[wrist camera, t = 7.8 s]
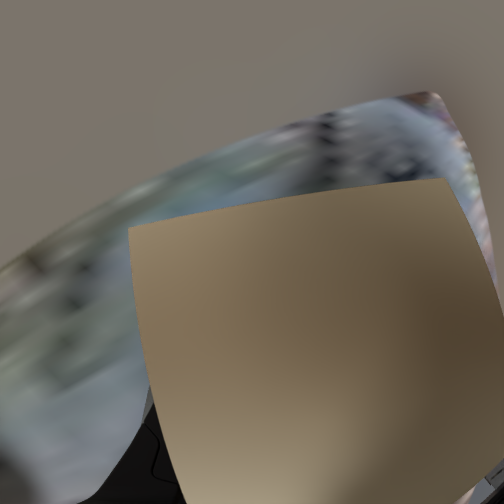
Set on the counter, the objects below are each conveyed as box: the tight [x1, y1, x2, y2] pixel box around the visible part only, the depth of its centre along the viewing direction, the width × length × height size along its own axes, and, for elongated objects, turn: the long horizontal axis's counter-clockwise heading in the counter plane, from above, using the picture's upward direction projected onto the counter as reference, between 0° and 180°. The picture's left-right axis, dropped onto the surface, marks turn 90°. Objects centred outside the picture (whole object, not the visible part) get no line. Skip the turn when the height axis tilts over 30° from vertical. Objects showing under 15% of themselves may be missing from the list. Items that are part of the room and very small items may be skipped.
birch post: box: [128, 178, 504, 504], centre depth 9 cm, size 5×5×13 cm
